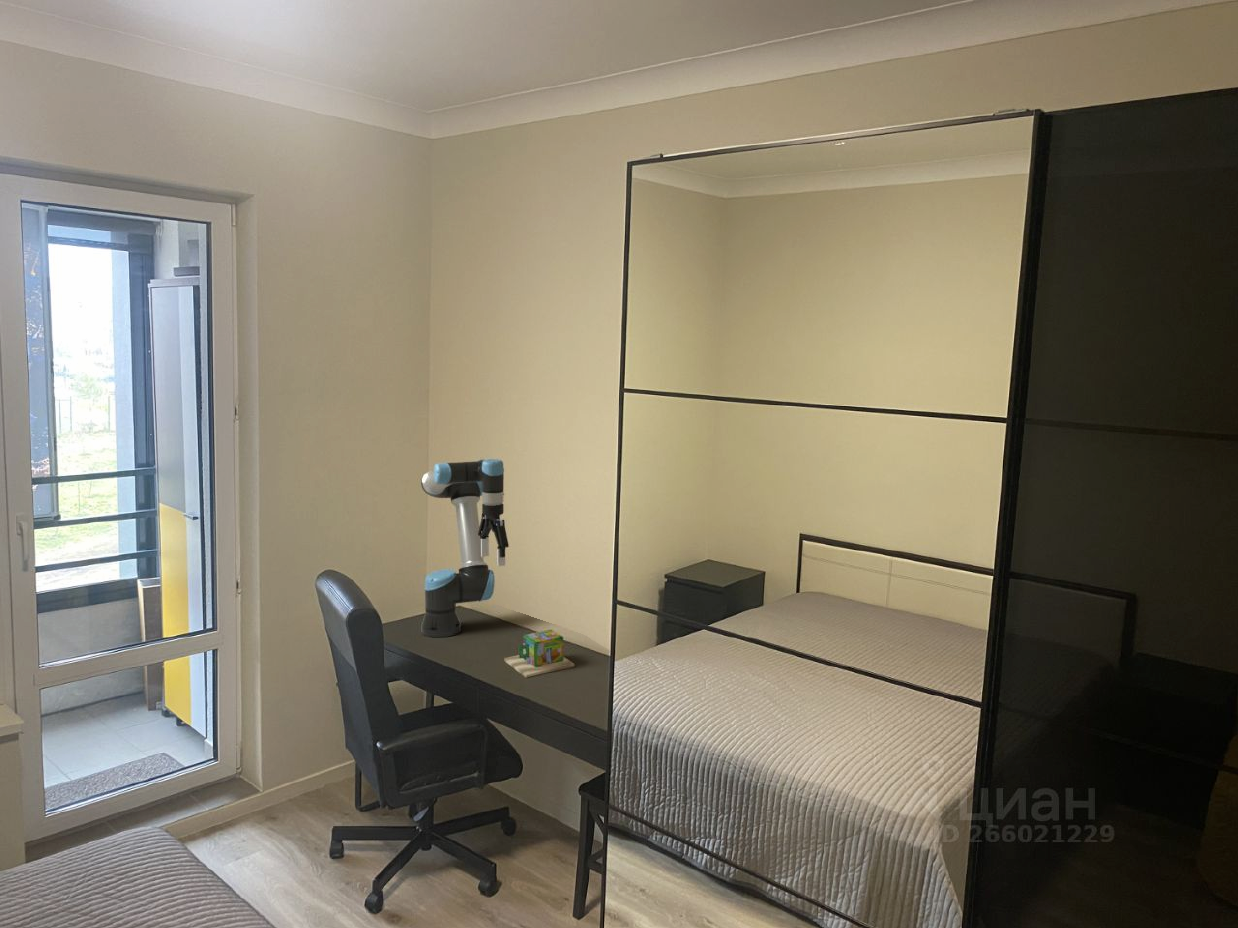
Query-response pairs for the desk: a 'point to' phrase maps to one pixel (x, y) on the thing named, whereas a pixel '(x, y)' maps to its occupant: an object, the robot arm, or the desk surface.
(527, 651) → the chalk box
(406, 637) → the desk surface
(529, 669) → the birch board
